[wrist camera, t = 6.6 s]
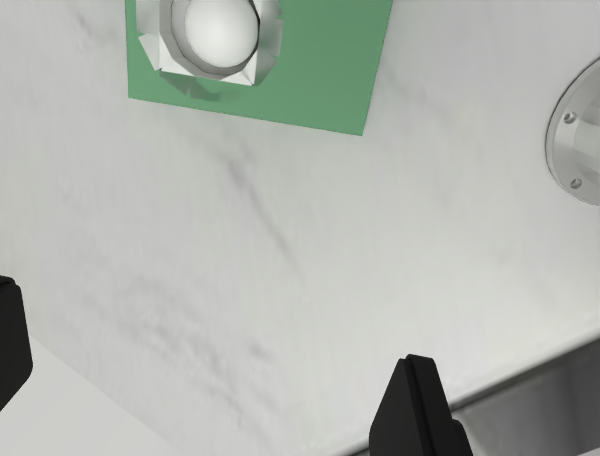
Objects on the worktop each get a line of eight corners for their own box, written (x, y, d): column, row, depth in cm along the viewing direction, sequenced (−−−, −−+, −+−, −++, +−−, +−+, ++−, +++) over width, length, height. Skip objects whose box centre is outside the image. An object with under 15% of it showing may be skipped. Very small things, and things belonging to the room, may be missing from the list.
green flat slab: (394, -36, 27) (402, -42, 25) (358, 128, 32) (361, 136, 30) (138, -83, 26) (121, -93, 24) (141, 92, 31) (128, 97, 29)
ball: (190, -22, 23) (181, -20, 27) (188, 68, 25) (180, 57, 29) (271, -7, 25) (251, -7, 28) (262, 76, 27) (245, 65, 31)
